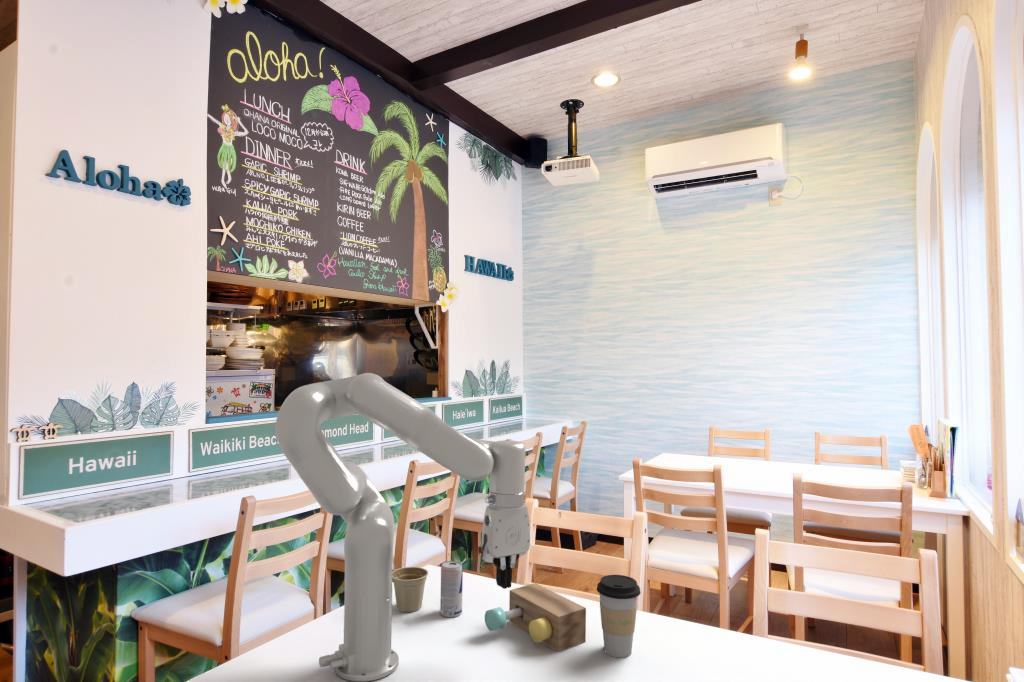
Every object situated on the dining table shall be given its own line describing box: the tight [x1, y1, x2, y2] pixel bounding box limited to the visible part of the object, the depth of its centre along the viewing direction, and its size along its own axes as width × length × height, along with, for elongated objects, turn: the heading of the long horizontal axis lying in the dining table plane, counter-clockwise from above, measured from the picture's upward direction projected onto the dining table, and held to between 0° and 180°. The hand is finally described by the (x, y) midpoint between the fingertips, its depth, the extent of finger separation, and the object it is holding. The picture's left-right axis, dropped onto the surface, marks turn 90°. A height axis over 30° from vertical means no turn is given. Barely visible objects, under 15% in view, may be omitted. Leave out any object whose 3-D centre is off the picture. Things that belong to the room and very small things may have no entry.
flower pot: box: [392, 566, 429, 613], centre depth 151 cm, size 9×9×9 cm
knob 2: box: [529, 617, 552, 643], centre depth 134 cm, size 11×4×4 cm, turn 127°
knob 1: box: [484, 606, 523, 632], centre depth 139 cm, size 11×4×4 cm, turn 127°
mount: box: [508, 582, 587, 653], centre depth 139 cm, size 8×18×8 cm, turn 37°
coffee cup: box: [596, 574, 642, 658], centre depth 130 cm, size 9×9×15 cm
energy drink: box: [439, 560, 464, 619], centre depth 148 cm, size 5×5×12 cm
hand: (503, 585), depth 128 cm, fingers closed
